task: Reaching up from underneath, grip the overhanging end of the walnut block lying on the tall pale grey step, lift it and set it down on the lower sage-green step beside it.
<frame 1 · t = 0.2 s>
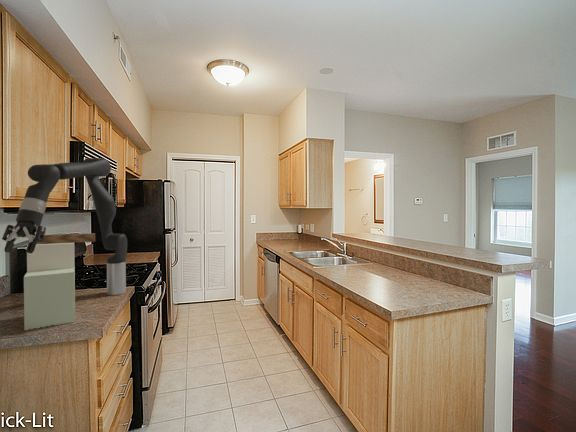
hand: (18, 252, 112), 31 cm above the countertop, tool tilted 20°, fingers open, 8 cm apart
stepped stand: (52, 318, 130), on the countertop
walnut block: (64, 242, 136), point 32 cm above the countertop, touching stepped stand
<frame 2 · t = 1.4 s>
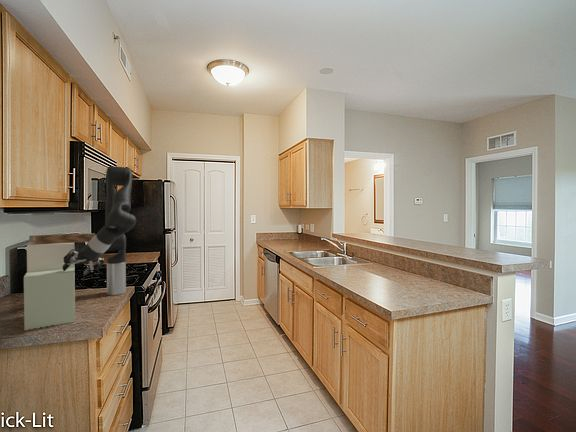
hand: (74, 271, 132), 20 cm above the countertop, tool tilted 45°, fingers open, 8 cm apart
nothing on the countertop moved.
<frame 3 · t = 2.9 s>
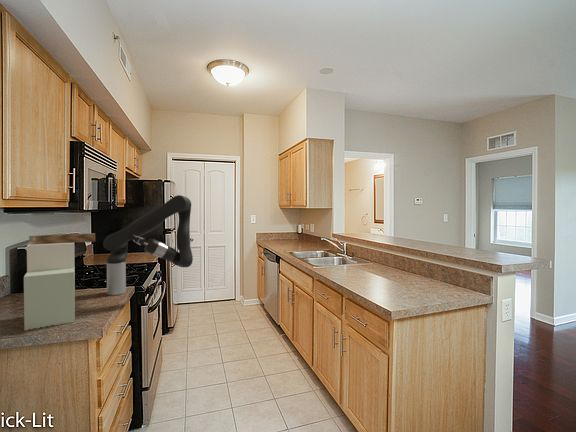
hand: (125, 234, 150), 35 cm above the countertop, tool pointing upward, fingers open, 8 cm apart
nothing on the countertop moved.
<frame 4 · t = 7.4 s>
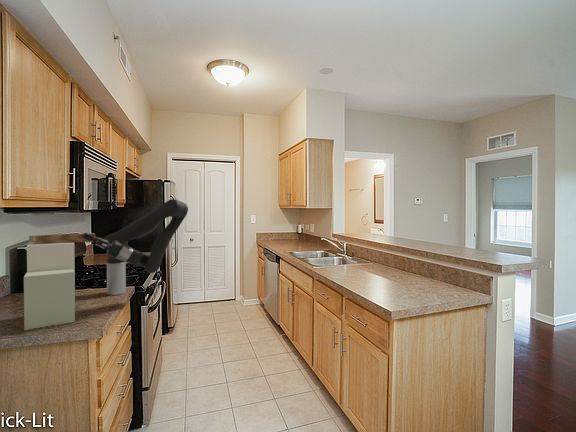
hand: (83, 234, 140), 35 cm above the countertop, tool pointing upward, fingers closed on walnut block, 3 cm apart
walnut block: (64, 242, 136), point 32 cm above the countertop, touching gripper, stepped stand
everything else where it was.
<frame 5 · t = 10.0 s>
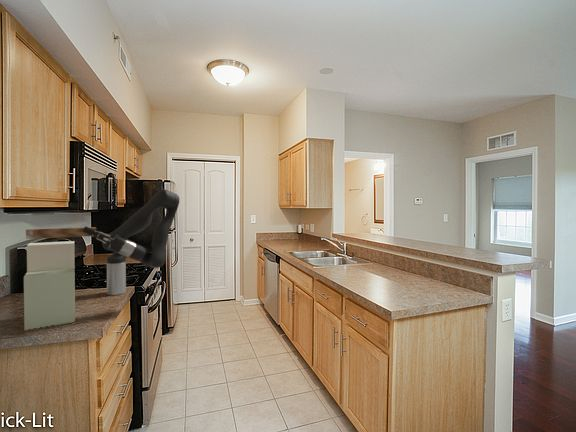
hand: (84, 228, 132), 39 cm above the countertop, tool pointing upward, fingers closed on walnut block, 3 cm apart
walnut block: (63, 236, 127), point 35 cm above the countertop, touching gripper
everything else where it was.
when the fingers open (26 cm above the countertop, at t = 12.6 s): walnut block drops 2 cm, resting on stepped stand.
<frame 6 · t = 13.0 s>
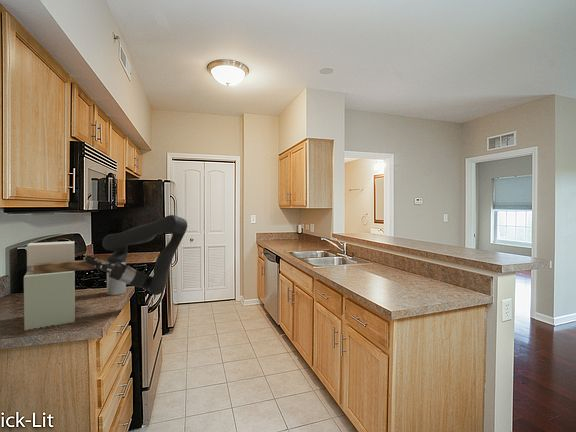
hand: (86, 258, 132), 26 cm above the countertop, tool pointing upward, fingers open, 8 cm apart
walnut block: (64, 270, 128), point 21 cm above the countertop, touching stepped stand
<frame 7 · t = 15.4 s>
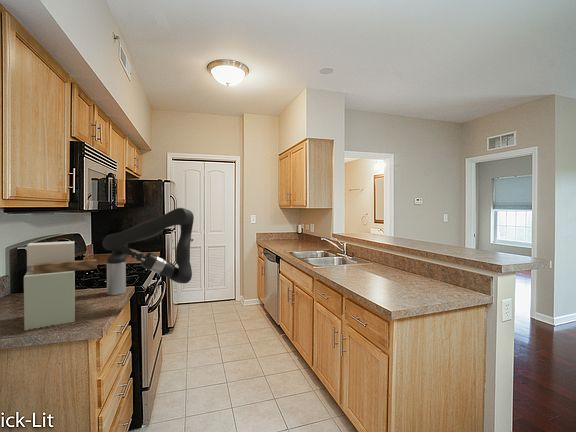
hand: (121, 248, 141), 29 cm above the countertop, tool pointing upward, fingers open, 8 cm apart
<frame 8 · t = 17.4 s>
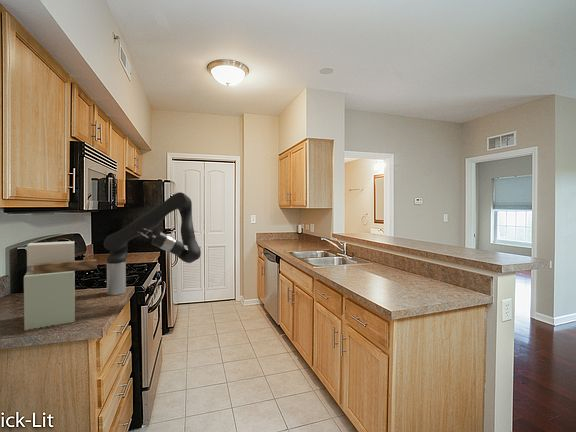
hand: (133, 226, 146), 39 cm above the countertop, tool pointing upward, fingers open, 8 cm apart
at the end: walnut block inside the target area on the stepped stand (0.2 cm from its centre), point 21.0 cm above the stepped stand's base; the gripper is holding nothing; walnut block tilted 0° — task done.
